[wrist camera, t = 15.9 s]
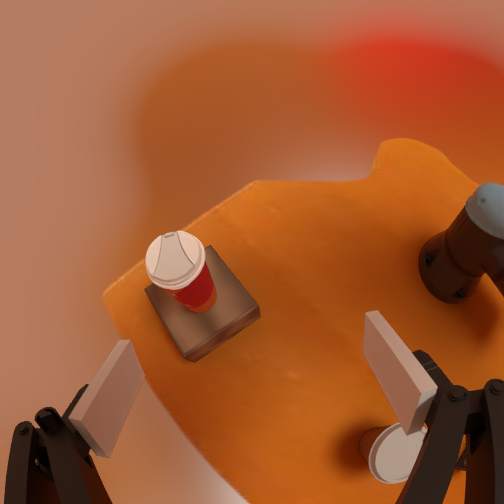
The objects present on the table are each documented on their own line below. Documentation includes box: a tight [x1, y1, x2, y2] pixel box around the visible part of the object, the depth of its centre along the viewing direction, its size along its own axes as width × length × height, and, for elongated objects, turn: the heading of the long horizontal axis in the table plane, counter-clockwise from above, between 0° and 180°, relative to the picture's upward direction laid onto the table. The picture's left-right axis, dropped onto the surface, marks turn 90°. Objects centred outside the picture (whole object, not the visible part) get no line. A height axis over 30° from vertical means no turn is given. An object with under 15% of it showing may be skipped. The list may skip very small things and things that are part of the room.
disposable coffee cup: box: [359, 422, 427, 484], centre depth 30 cm, size 10×10×12 cm
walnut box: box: [144, 245, 261, 363], centre depth 48 cm, size 14×14×6 cm
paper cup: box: [146, 231, 217, 313], centre depth 39 cm, size 8×8×14 cm
